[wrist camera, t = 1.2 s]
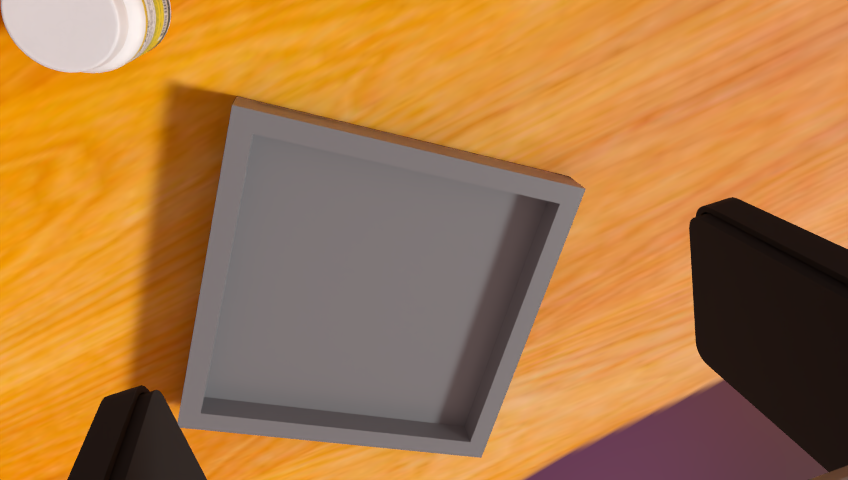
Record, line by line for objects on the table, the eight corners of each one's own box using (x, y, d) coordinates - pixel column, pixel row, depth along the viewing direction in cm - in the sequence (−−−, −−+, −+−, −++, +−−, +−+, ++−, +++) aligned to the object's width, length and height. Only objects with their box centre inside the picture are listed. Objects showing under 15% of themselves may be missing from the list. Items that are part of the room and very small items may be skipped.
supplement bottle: (44, -13, 29) (-47, -9, 22) (125, -69, 29) (62, -85, 21) (117, 74, 31) (57, 106, 24) (193, 22, 31) (158, 39, 23)
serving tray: (236, 96, 33) (232, 105, 31) (569, 176, 38) (585, 189, 36) (183, 402, 39) (176, 427, 37) (472, 434, 45) (481, 457, 43)
